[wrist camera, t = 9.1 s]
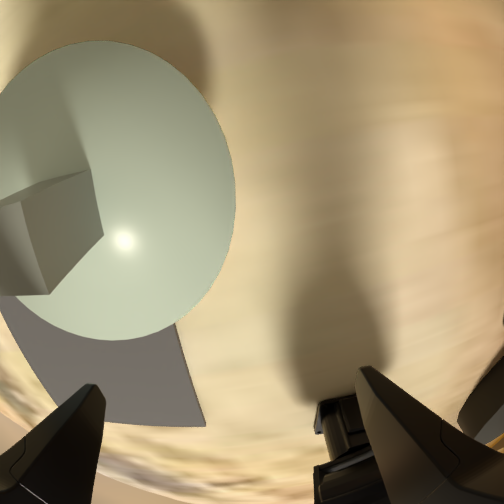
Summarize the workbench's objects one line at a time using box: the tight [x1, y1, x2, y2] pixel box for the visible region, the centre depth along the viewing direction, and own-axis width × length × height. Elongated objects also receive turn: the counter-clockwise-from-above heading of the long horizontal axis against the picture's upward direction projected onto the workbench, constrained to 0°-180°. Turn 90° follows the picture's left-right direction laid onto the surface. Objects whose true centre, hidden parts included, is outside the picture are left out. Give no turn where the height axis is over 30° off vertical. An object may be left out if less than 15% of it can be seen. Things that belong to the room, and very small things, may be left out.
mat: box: [0, 296, 206, 427], centre depth 23 cm, size 18×18×1 cm
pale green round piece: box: [0, 41, 236, 340], centre depth 9 cm, size 15×15×6 cm
